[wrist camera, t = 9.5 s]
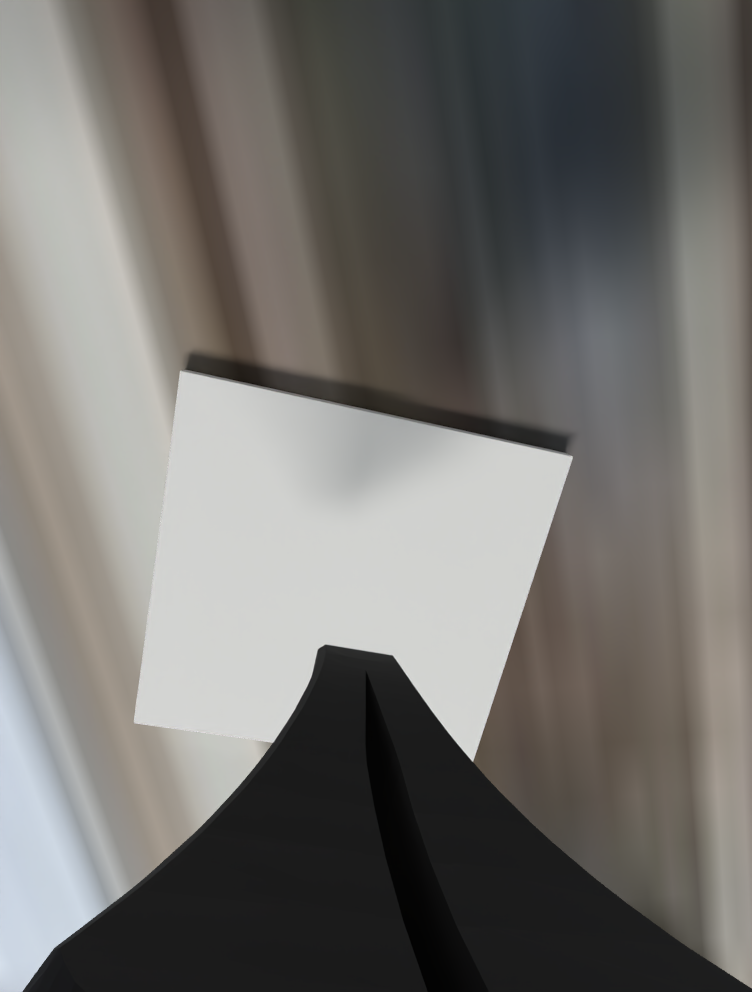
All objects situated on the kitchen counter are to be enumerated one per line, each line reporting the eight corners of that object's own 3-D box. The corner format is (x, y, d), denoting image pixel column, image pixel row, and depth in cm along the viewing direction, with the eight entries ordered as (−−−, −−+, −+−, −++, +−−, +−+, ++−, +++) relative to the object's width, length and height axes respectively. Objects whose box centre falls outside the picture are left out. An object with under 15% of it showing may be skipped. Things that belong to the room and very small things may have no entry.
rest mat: (138, 713, 15) (134, 723, 15) (184, 369, 13) (180, 370, 12) (467, 759, 16) (470, 770, 16) (566, 453, 14) (573, 456, 13)
